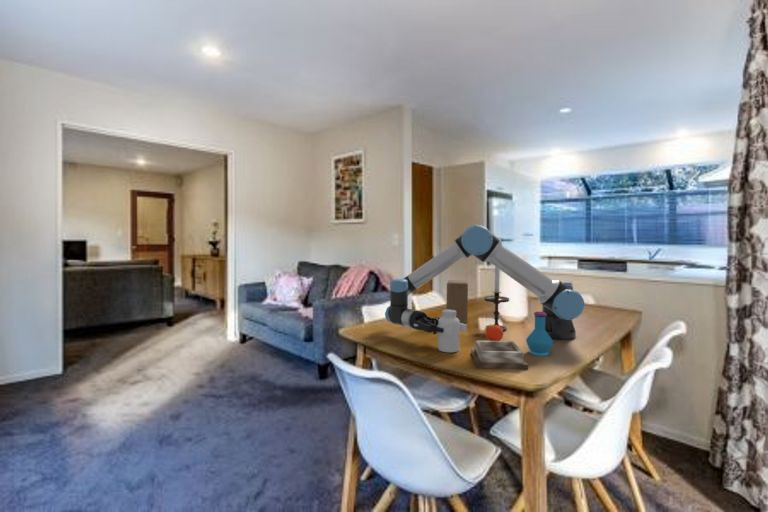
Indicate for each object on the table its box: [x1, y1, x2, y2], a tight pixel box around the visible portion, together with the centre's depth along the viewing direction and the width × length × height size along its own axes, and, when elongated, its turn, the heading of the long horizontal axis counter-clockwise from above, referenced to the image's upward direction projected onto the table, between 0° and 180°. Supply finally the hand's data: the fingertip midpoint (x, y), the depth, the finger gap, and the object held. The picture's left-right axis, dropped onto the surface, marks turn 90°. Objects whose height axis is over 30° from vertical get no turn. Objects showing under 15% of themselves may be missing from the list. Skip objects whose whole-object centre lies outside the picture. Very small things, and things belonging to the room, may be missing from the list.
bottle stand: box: [470, 340, 529, 370], centre depth 136 cm, size 16×16×5 cm
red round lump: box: [485, 323, 504, 341], centre depth 160 cm, size 8×7×7 cm
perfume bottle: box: [525, 311, 554, 357], centre depth 144 cm, size 9×9×15 cm
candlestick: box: [484, 266, 510, 333], centre depth 178 cm, size 11×11×35 cm
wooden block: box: [446, 279, 469, 324], centre depth 194 cm, size 10×10×20 cm
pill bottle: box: [437, 308, 460, 354], centre depth 148 cm, size 8×8×15 cm
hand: (458, 330), depth 144 cm, fingers closed on pill bottle, 8 cm apart
